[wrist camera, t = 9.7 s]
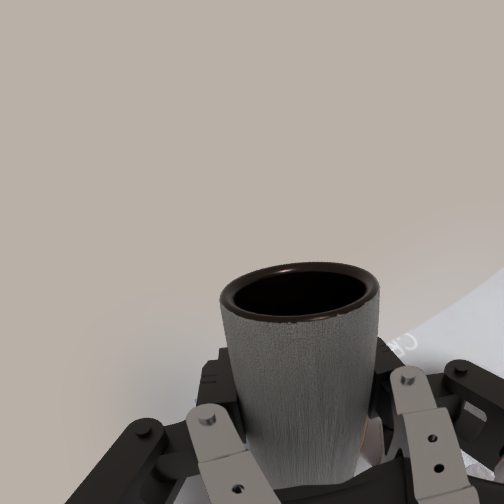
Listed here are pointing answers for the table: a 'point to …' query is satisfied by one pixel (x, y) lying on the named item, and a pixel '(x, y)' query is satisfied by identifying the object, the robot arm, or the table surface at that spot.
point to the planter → (303, 366)
